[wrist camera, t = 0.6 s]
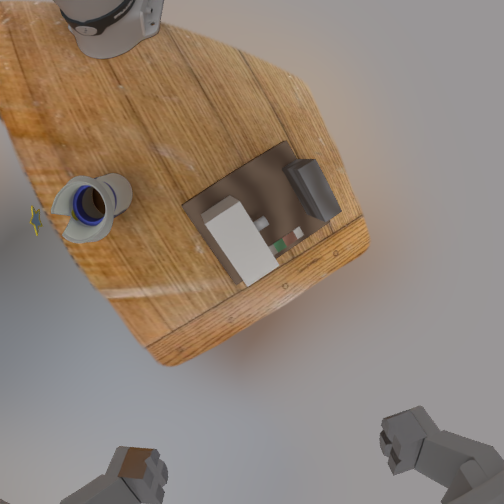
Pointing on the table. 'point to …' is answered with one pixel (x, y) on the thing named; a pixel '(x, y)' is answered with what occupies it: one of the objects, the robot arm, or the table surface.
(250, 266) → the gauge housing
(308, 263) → the table surface
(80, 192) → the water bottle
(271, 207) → the gauge stand
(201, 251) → the table surface
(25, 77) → the table surface
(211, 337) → the table surface
